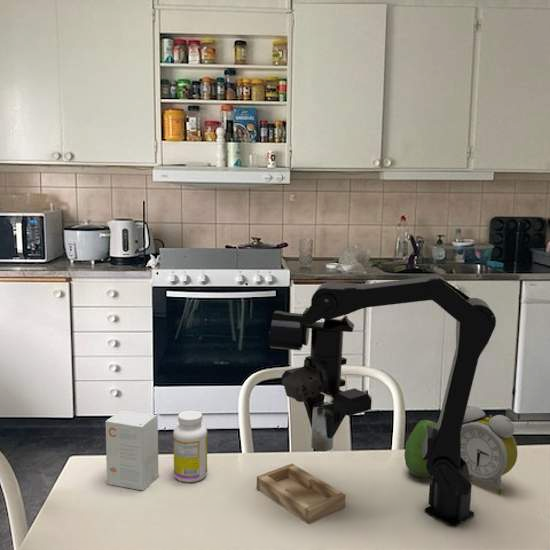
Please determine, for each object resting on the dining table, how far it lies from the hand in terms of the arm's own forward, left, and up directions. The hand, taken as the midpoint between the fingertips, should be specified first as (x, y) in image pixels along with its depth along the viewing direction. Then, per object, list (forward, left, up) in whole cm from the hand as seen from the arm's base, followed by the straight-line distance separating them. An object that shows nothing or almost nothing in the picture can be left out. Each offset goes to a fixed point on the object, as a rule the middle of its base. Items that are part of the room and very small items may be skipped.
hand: (322, 433), depth 112 cm
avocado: (-6, -23, -13) cm, 27 cm away
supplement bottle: (+22, +15, -13) cm, 29 cm away
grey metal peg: (0, 0, -3) cm, 2 cm away
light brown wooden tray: (+2, +3, -13) cm, 13 cm away
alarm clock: (-15, -31, -13) cm, 37 cm away
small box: (+27, +25, -13) cm, 39 cm away
